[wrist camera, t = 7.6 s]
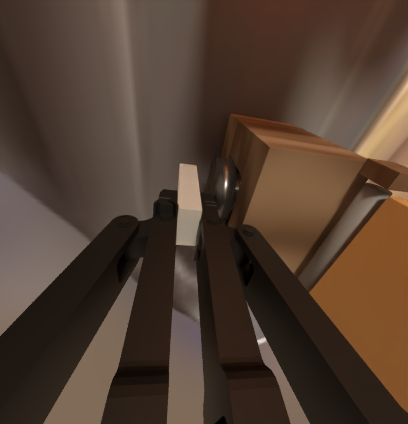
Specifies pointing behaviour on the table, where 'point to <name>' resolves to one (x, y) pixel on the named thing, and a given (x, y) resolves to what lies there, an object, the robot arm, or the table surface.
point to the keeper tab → (368, 283)
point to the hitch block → (297, 184)
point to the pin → (224, 185)
